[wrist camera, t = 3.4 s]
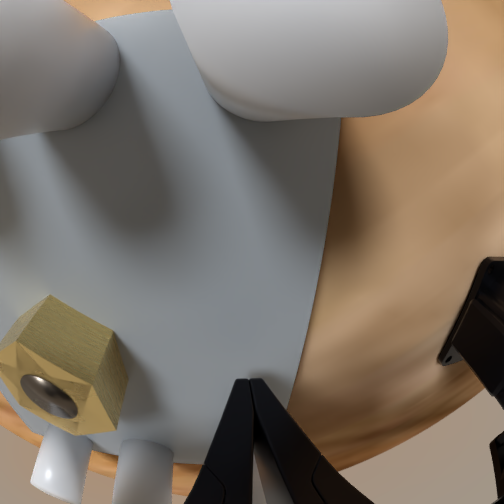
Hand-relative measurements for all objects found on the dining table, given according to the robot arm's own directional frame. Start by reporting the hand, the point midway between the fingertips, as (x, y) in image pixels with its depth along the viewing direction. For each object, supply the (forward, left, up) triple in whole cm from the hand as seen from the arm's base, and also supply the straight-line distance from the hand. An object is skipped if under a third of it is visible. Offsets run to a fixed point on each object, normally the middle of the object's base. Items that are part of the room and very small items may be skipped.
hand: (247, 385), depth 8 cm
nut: (+7, 0, -1) cm, 7 cm away
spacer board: (+6, -1, -2) cm, 6 cm away
